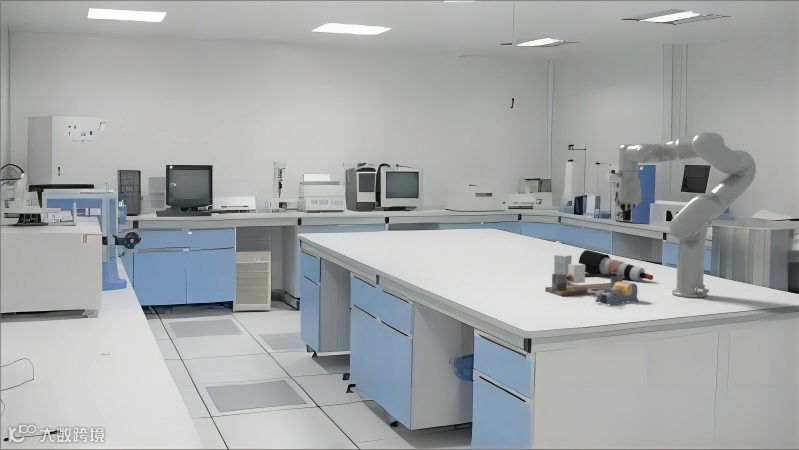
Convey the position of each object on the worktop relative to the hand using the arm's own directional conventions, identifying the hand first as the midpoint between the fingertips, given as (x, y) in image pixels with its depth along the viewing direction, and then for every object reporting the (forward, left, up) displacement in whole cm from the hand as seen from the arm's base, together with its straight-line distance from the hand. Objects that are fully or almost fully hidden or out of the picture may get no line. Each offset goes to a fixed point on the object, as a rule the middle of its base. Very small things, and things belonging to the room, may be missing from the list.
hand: (626, 220), depth 314 cm
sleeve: (-4, +26, -23) cm, 35 cm away
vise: (-25, +24, -28) cm, 44 cm away
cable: (+20, -10, -28) cm, 35 cm away
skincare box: (+15, +20, -27) cm, 37 cm away
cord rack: (-4, +21, -27) cm, 35 cm away
